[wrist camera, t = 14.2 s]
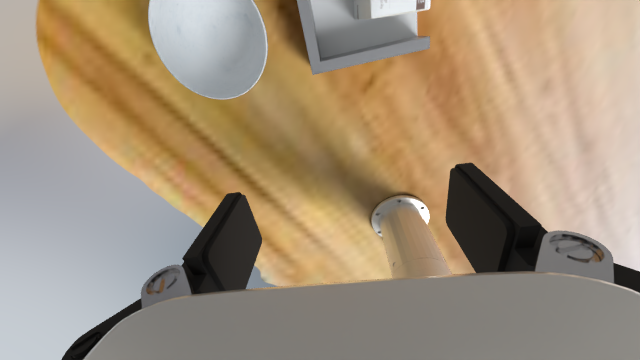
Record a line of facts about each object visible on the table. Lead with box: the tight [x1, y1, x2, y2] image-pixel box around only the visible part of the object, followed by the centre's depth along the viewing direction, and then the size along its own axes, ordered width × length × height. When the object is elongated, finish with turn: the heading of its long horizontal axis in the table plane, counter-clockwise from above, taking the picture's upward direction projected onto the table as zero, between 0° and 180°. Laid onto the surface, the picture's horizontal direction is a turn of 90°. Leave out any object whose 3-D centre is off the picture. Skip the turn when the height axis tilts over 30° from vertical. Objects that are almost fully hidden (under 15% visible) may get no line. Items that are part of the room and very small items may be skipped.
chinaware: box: [148, 0, 268, 99], centre depth 34 cm, size 15×15×8 cm
